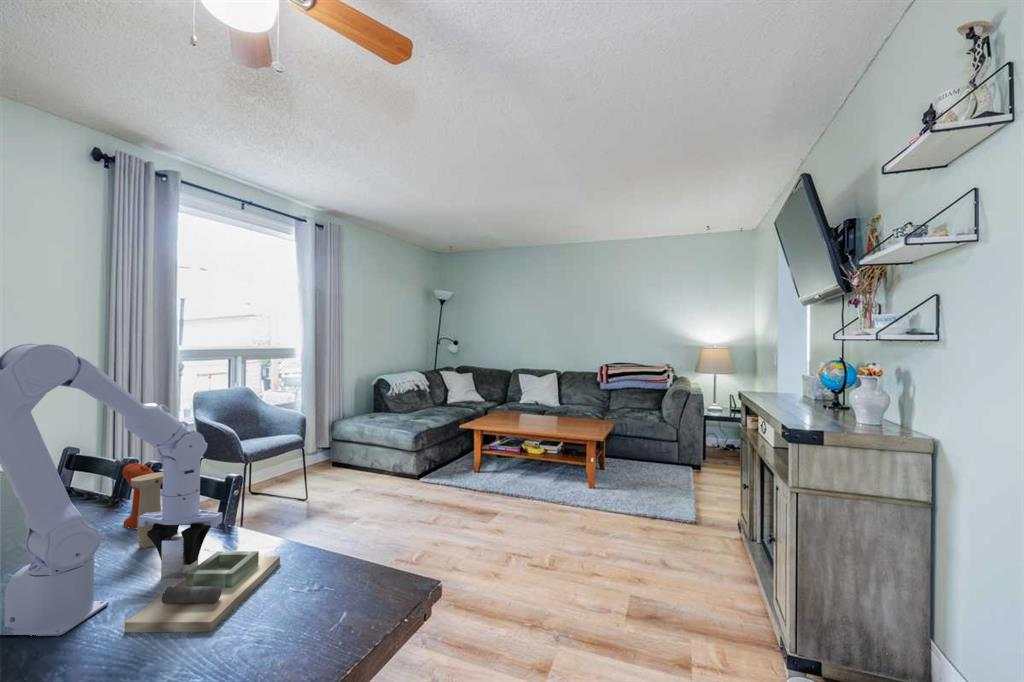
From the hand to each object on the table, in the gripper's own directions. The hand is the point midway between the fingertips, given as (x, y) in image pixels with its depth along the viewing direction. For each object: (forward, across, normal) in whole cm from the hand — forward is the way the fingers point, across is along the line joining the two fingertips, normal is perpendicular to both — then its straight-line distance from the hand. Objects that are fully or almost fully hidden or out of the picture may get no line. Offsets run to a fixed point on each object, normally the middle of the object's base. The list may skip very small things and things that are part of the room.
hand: (180, 562), depth 81 cm
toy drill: (+2, +30, -24) cm, 38 cm away
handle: (+2, +15, -11) cm, 19 cm away
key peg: (+2, 0, 0) cm, 2 cm away
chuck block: (+2, -11, +7) cm, 13 cm away
